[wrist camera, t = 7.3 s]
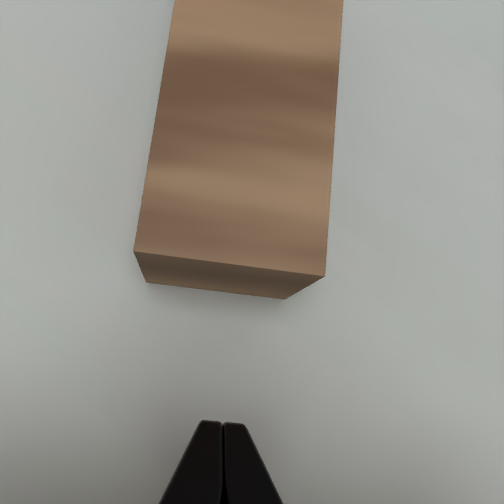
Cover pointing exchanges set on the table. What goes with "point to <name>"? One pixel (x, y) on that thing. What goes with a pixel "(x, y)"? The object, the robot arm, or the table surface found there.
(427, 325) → the table surface
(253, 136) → the walnut block
